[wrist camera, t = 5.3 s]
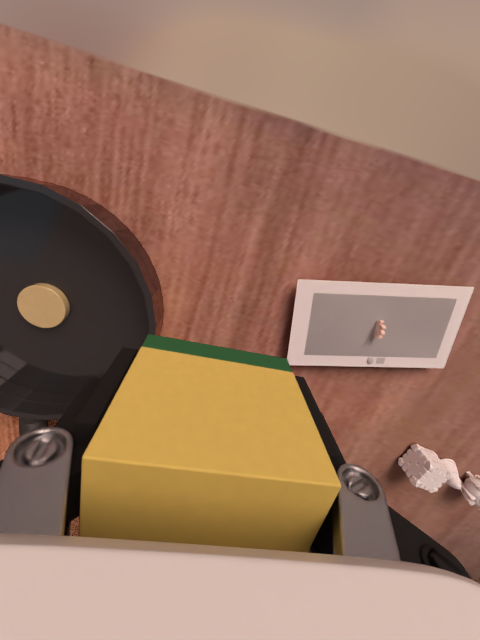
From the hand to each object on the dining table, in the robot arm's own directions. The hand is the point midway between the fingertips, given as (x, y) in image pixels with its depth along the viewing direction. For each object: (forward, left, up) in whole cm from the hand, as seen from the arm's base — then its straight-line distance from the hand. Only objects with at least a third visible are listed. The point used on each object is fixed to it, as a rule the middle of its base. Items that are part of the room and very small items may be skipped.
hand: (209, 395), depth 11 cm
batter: (+4, -13, -13) cm, 19 cm away
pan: (+4, -13, -14) cm, 19 cm away
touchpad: (0, +14, -14) cm, 20 cm away
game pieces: (+15, +30, -14) cm, 36 cm away
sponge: (0, 0, 0) cm, 0 cm away
